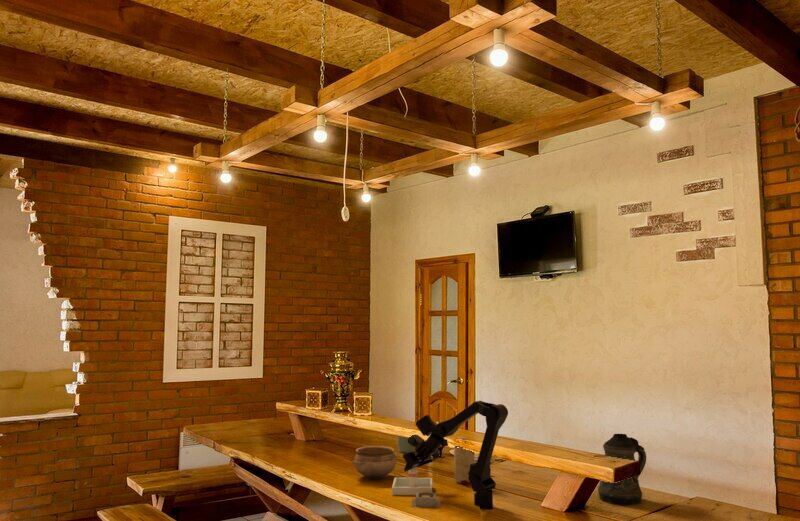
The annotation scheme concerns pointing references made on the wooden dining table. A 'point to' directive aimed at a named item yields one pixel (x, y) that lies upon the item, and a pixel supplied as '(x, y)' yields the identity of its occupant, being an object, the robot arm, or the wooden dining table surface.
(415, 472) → the fuse
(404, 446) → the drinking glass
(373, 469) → the cooking pot
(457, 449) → the food model
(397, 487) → the tray
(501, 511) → the wooden dining table surface
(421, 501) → the fuse block
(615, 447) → the black jug
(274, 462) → the wooden dining table surface
